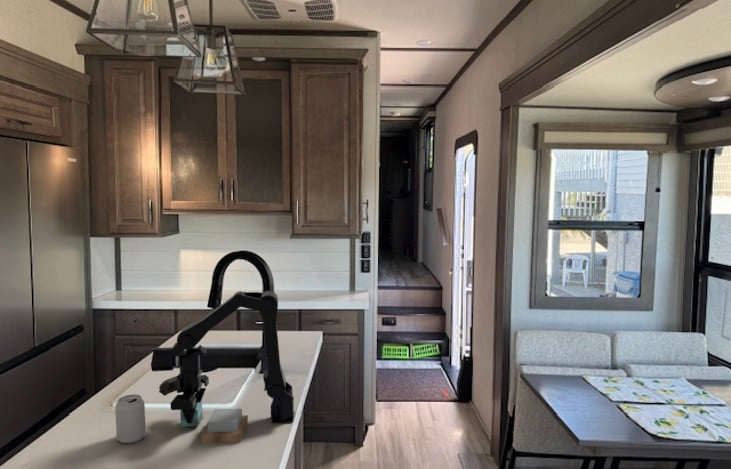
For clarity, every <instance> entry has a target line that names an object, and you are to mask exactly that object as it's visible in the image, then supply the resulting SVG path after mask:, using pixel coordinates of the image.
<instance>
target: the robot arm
mask: <svg viewBox="0 0 731 469" xmlns="http://www.w3.org/2000/svg"><path fill="white" fill-rule="evenodd" d="M240 308H244V309H248V310H251V311H258V312H259V313H260V314H259V315H260V317H261V320H262V323H263V325H264V326H263V327H264V336H265V338H264V339H265V345H266V346H265V347H266V357H267V365H268V366H267V367H268V370H263V376H262V380H263V383H264V387H263V388H264V389H263V391H264V392H266V395H267V397H269V398H271V399H272V402H271V403H270V419H271V423H273V424H275V423H276V424H279V423H281V424H282V423H294V420H295V414H296V412H295V401H294V400H295V399H294V398H295V396H294V395H293V386H292V385H291V384H290V383H289V382H288V381H287V380H286V377H285V374H284V373H285V372H284V368H282V364H281V359H280V358H281V356H280V348H279V336H278V327H277V325H278V324H277V320H278V310H279V297H278V294H276V293H275V292H274V291H271V290H265V291H264V292H259V291H254V292H253V291H252V292H251V291H250V292H248V291H247V292H246V291H242V290H240V291H236V292H235V293H234V294H233V295H232V296H230V298H228V299H227V300H226V301H224V302H223V303H221V305H218V306H217V307H216V308H215V309H213V310H212V311H211V312H209V313H208V314H207V315H206V316H204V317H203V318H201V319H198V320H195V321H193V322H192V323H189V324H188V325H186V326H184V327H183V328H182V329H181V330H180V332H179V333H178V335H177V337H176V342H175V343H174V344H173V346H172V347H154V348H153V349H152V356H151V362H150V368H151V371H152V372H153V373H154V372H166V371H167V372H169V371H174V370H175V367H178V366H179V373H178V375H175V376H173V377H170V378H167V379H165V380H163V381H162V382H161V384H159V387H158V388H159V391H158V393H160V394H161V395H162V396H163V397H164V396H167V395H169V394H171V393H174V392H176V393H177V394H176V395H175V396H174V398H173V399H172V401H171V402H170V411H180V410H182V412H183V414H184V416H185V419H186V421H187V423H191V422H192V419H193V416H194V413H195V410H196V407H197V404H198V403H200V402H202V400H203V397H204V395H205V392H206V391H207V388H206V387H208V385H209V383H210V379H209V376H207V375H206V374H202V373H203V369H202V368H201V361H200V360H201V359H200V356H204V355H206V353H207V349H206V348H205V347H203V346H202V344H199V342H200V341H201V340H202V339H203V338H204V337H205V336H206V335H207V333H209V332H210V330H212V329H213V328H215V327H216V326H217V325H219V324H221V322H222V321H224V320H225V319H226V318H228V317H229V316H230V315H232V314H233V313H235V312H236V311H237V310H238V309H240ZM198 344H199V345H198ZM197 345H198V346H197ZM196 346H197V347H196ZM178 364H179V365H178ZM203 385H204V387H203V388H202V386H203ZM181 393H182V394H181Z"/></svg>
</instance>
